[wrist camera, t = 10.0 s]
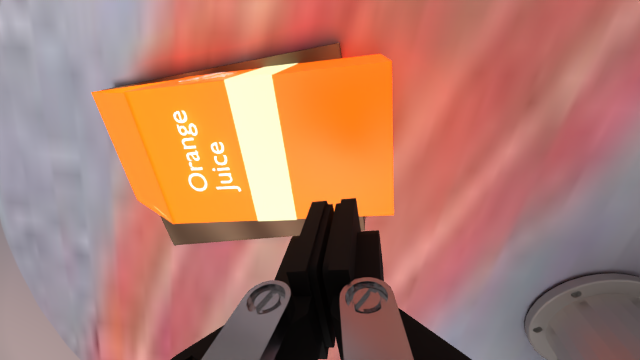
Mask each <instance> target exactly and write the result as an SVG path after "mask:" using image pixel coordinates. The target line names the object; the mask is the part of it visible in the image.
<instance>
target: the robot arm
mask: <svg viewBox="0 0 640 360" xmlns="http://www.w3.org/2000/svg"><path fill="white" fill-rule="evenodd" d="M525 333H526V335H527V338H528V340H529V341H530V343H531V345H532V346H533V348H534V350H535V351H536V352H537V353H539V354H540V355H541V356H542V357H544V358H545V359H547V360H640V277H636V276H632V275H626V274H615V273H612V274H596V275H590V276H584V277H580V278H577V279H573V280H570V281H568V282H565V283H563V284H561V285H558V286H556V287H555V288H553V289H551V290H550V291H548V292H546V293H545V294H544V295H543V296H542V297H540V298H539V299H538V300H537V301H536V302H535V303H534V305H533V306H532V307H531V308H530V310H529V312H528V314H527V316H526V320H525ZM335 337H336V340H337V345H338V349H339V354H340V358H341V360H471V359H470V358H469V357H467V356H466V355H464V354H463V353H462V352H460V351H459V350H457V349H456V348H454V347H453V346H452V345H450V344H449V343H447V342H446V341H445V340H443V339H442V338H440V337H439V336H437V335H436V334H435V333H433V332H432V331H430V330H429V329H428V328H426V327H425V326H423V325H422V324H420V323H419V322H418V321H416V320H415V319H413V318H412V317H411V316H409V315H408V314H406V313H405V312H403V311H402V310H401V309H399V308H398V306H397V303H396V299H395V296H394V293H393V291H392V289H391V287H390V286H389V285H388V284H387V283H386V282H384V277H383V263H382V253H381V244H380V235H379V230H378V231H363V232H361V228H360V221H359V214H358V207H357V201H356V198H350V199H341V203H336V206H335V210H334V208H333V204H328V202H327V201H316V202H312V203H311V206H310V209H309V211H308V214H307V217H306V220H305V222H304V225H303V228H302V230H301V233H300V236H293V237H292V238H291V241H290V243H289V246H288V248H287V250H286V253H285V255H284V258H283V260H282V263H281V265H280V268H279V270H278V273H277V275H276V278H275V280H270V281H266V282H262V283H260V284H258V285H256V286H254V287H253V288H252V289H250V290H249V291H248V292H247V294H246V295H245V296H244V297H243V299H242V300H241V302H240V303H239V305H238V306H237V308H236V309H235V311H234V312H233V314H232V315H231V316H230V318H229V319H228V321H227V322H226V324H225V325H224V326H222V327H220V328H219V329H217V330H216V331H214V332H213V333H211V334H209V335H208V336H206V337H205V338H203V339H201V340H200V341H198V342H197V343H195V344H193V345H192V346H190V347H189V348H187V349H185V350H184V351H182V352H181V353H179V354H178V355H176V356H175V357H173V358H172V359H171V360H318V359H327V356H328V349H329V347H334V345H335Z"/></svg>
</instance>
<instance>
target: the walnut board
mask: <svg viewBox="0 0 640 360" xmlns="http://www.w3.org/2000/svg"><path fill="white" fill-rule="evenodd" d="M341 58H342V56H341V49H340V43H336V44H331V45H326V46H321V47H316V48H311V49H306V50H301V51H296V52H291V53H286V54H281V55H276V56H271V57H266V58H261V59H256V60H251V61H246V62H241V63H236V64H231V65H226V66H221V67H216V68H211V69H206V70H201V71H195V72H190V73H185V74H180V75H175V76H170V77H165V78H160V79H155V80H150V81H145V82H140V83H135V84H130V85H125V86H120V87H115V88H110V89H117V88H123V87H130V86H137V85H143V84H150V83H157V82H163V81H170V80H177V79H181V78H186V77H190V76H198V75H206V74H215V73H219V72H220V73H223V72H232V71H240V70H249V69H257V68H263V67H268V66H277V65H285V64H294V63H298V64H299V63H307V62H316V61H324V60H333V59H341ZM110 89H105V90H110ZM102 91H103V90H102ZM161 218H162V221H163V223H164V225H165V227H166V229H167V231H168V233H169V236H170V238H171V240H172V242H173V244H174V245H182V244H195V243H208V242H221V241H234V240H247V239H260V238H273V237H286V236H299V235H300V233H301V230H302V228H303V225H304V222H305V220H306V219H297V220H279V221H258V220H257V221H231V222H205V223H180V224H172V223H171V222H169V221H168V220H166V219H165V218H163V217H162V216H161ZM359 221H360V228H361V231H363V230H365V220H364V216H359Z"/></svg>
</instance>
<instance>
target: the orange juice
mask: <svg viewBox="0 0 640 360" xmlns="http://www.w3.org/2000/svg"><path fill="white" fill-rule="evenodd" d="M91 93H92V95H93V97H94V100H95V102H96V104H97V107H98V109H99V111H100V114H101V116H102V118H103V121H104V123H105V125H106V128H107V130H108V132H109V135H110V137H111V140H112V142H113V144H114V147H115V149H116V151H117V154H118V156H119V158H120V161H121V163H122V165H123V168H124V170H125V172H126V175H127V177H128V179H129V182H130V184H131V186H132V189H133V191H134V194H135V196H136V198H137V200H138V201H140V202H141V203H143V204H144V205H146V206H147V207H149V208H150V209H152V210H153V211H154V212H156V213H157V214H159V215H160V216H162V217H163V218H165V219H166V220H168V221H169V222H171V223H172V224H180V223H205V222H231V221H257V220H258V221H279V220H297V219H306V217H307V214H308V211H309V209H310V206H311V203H312V202H316V201H327V202H328V204H333V208H334V210H335V206H336V203H341V199H350V198H356V201H357V207H358V214H359V216H385V215H394V188H393V114H392V61H391V60H389V59H388V58H386V57H385V56H383V55H381V54H375V55H366V56H358V57H350V58H341V59H333V60H324V61H316V62H307V63H299V64H298V63H294V64H285V65H277V66H268V67H263V68H257V69H249V70H240V71H232V72H223V73H220V72H219V73H215V74H206V75H198V76H190V77H186V78H181V79H177V80H170V81H163V82H157V83H150V84H143V85H137V86H130V87H123V88H117V89H110V90H103V91H97V92H91Z"/></svg>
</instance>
